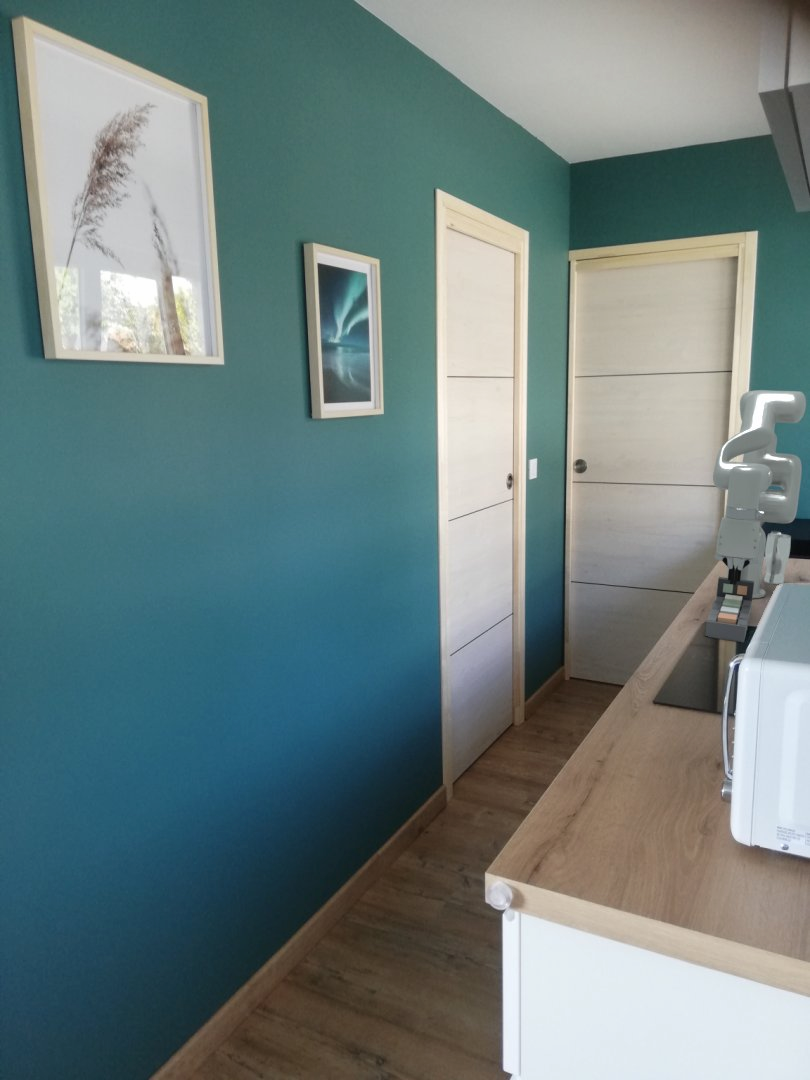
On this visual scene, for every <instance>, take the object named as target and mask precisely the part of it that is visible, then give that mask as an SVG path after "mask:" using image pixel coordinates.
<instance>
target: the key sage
mask: <svg viewBox="0 0 810 1080" xmlns="http://www.w3.org/2000/svg"><path fill="white" fill-rule="evenodd" d="M722 606H724V607H731V608H739V611H740V606H741V602H734V601H727V600H724V601H723V604H722Z"/></svg>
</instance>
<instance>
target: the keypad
mask: <svg viewBox="0 0 810 1080" xmlns="http://www.w3.org/2000/svg"><path fill="white" fill-rule="evenodd" d="M717 580H718V581H717V589H716V597H715V600H713V604H712V607H711V609H710V612H709V614H708V617H707V620H706V626H705V635H706V636H708V637H707V638H711V639H712V638H713V639H719V640H726V641H731V640H733V642H737V643H745V639H746V635H747V631H748V626H749V623H748V621H749V622H750V618H751V614H752V604H753V598H752V597H753V589H754V581H749V580H741V579H740V582H739V581H737V585H734V583H733V584H730V580H728V578H727V577H723V576H719V577H718V579H717ZM726 594H727V595H735V596H743V597H742V604H741V606H740V611H739V614H738V618H737V622H736V624H729V623H722V622H717V621H718V615H719V613H720V610H721V607H722V604H723V601H724V599H725V596H726ZM750 613H751V614H750ZM749 617H750V618H749ZM705 635H704V636H705Z"/></svg>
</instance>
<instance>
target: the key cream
mask: <svg viewBox="0 0 810 1080" xmlns="http://www.w3.org/2000/svg"><path fill="white" fill-rule="evenodd" d="M742 597H743V596H735V595H727V594H726V596H725V599H724V600H727V601H734V602H741V604H742Z"/></svg>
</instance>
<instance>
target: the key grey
mask: <svg viewBox="0 0 810 1080" xmlns="http://www.w3.org/2000/svg"><path fill="white" fill-rule="evenodd" d="M720 613H726V614H733V615H737V618H738V614H739V608H731V607H724V606H722V607H721V610H720Z"/></svg>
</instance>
